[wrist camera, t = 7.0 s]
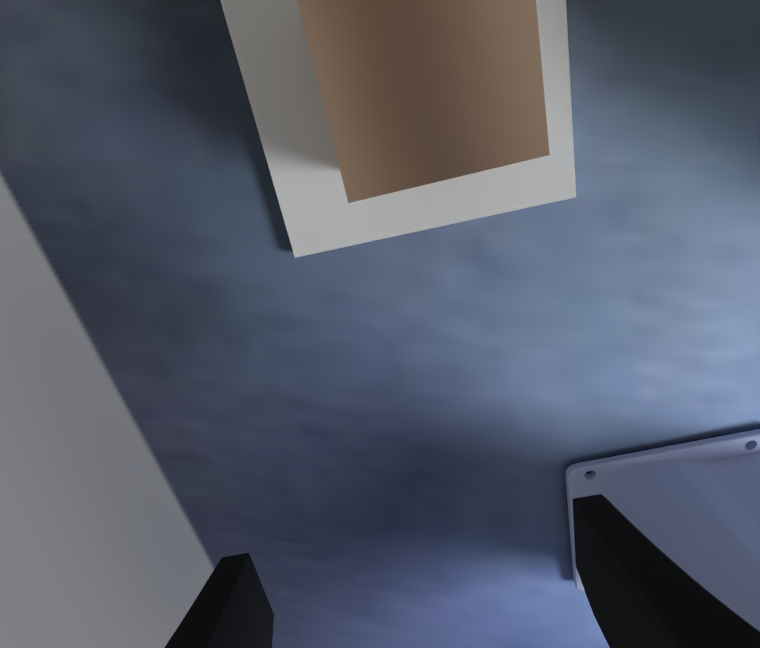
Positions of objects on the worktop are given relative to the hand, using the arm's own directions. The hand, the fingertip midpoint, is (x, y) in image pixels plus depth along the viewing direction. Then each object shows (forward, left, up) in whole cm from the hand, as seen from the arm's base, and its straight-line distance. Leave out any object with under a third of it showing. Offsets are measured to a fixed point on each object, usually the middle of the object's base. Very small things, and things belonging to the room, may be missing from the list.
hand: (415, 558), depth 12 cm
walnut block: (-2, -10, -10) cm, 14 cm away
